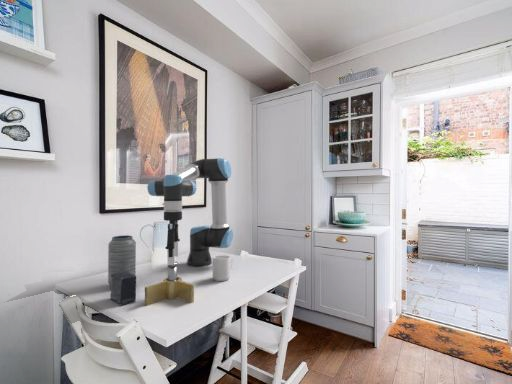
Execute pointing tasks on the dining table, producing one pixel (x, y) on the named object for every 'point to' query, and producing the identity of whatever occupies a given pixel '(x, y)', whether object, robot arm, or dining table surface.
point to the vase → (121, 255)
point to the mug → (222, 267)
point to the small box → (123, 288)
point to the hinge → (169, 291)
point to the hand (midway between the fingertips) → (173, 260)
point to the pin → (172, 272)
